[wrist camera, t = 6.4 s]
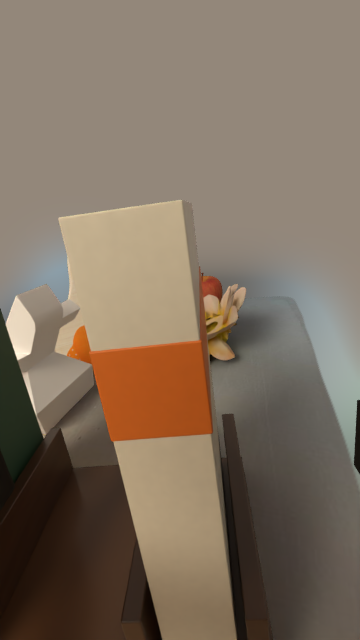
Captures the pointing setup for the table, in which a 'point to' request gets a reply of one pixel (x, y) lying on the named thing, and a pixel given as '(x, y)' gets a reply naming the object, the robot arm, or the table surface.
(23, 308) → the white angular piece
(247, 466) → the table surface
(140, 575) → the book rack
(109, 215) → the book
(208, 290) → the apple
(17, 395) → the green book
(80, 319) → the shape sorter
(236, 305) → the decorative flower
